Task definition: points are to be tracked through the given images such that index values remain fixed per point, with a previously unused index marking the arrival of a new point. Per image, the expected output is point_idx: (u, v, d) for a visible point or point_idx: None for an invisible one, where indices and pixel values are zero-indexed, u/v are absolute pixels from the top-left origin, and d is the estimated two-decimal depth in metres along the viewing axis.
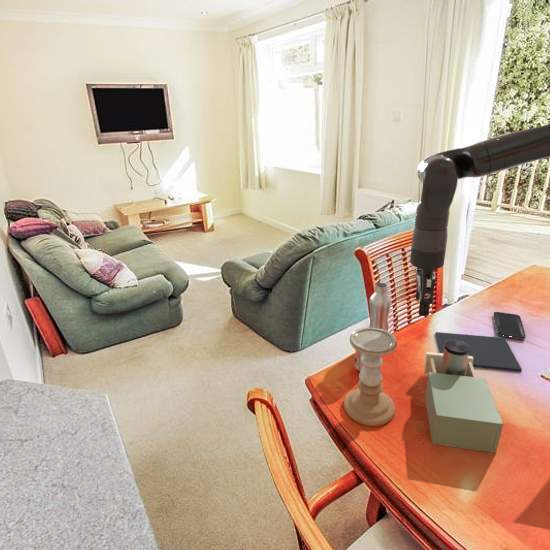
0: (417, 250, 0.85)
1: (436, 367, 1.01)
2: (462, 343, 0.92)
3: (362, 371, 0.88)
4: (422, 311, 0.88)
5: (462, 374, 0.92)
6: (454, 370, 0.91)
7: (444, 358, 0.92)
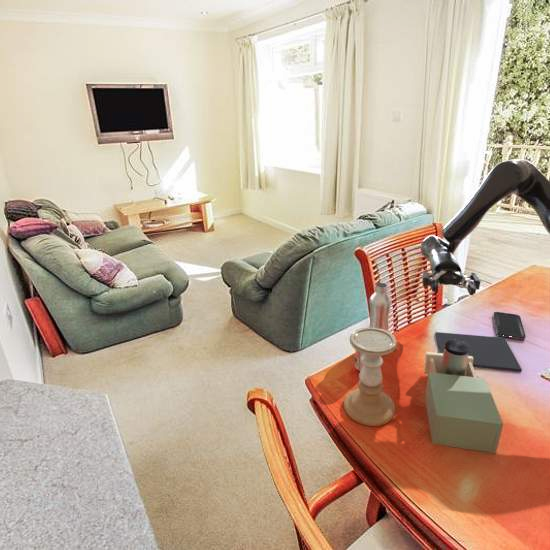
0: None
1: (436, 367, 1.01)
2: (462, 343, 0.92)
3: (362, 371, 0.88)
4: (431, 288, 1.00)
5: (462, 374, 0.92)
6: (454, 370, 0.91)
7: (444, 358, 0.92)
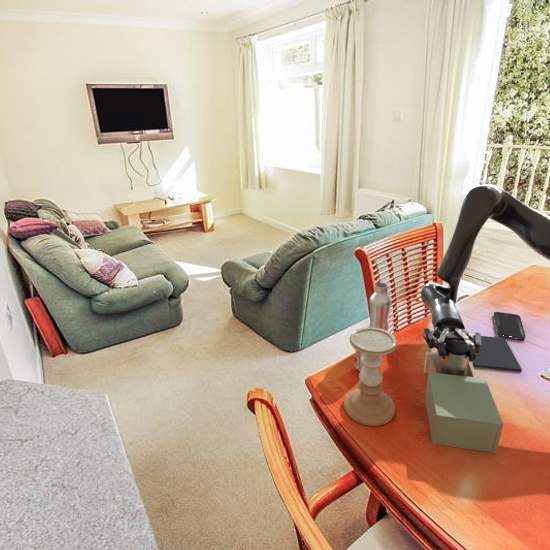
0: None
1: (436, 367, 1.01)
2: (462, 343, 0.92)
3: (362, 371, 0.88)
4: (438, 353, 0.92)
5: (462, 374, 0.92)
6: (454, 370, 0.91)
7: None
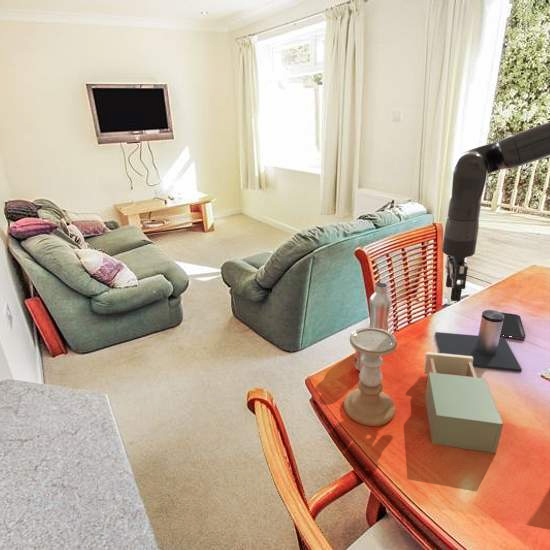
0: (450, 239, 0.92)
1: (436, 367, 1.01)
2: (497, 312, 1.07)
3: (362, 371, 0.88)
4: (454, 296, 0.95)
5: (497, 339, 1.06)
6: (490, 335, 1.06)
7: (481, 325, 1.07)
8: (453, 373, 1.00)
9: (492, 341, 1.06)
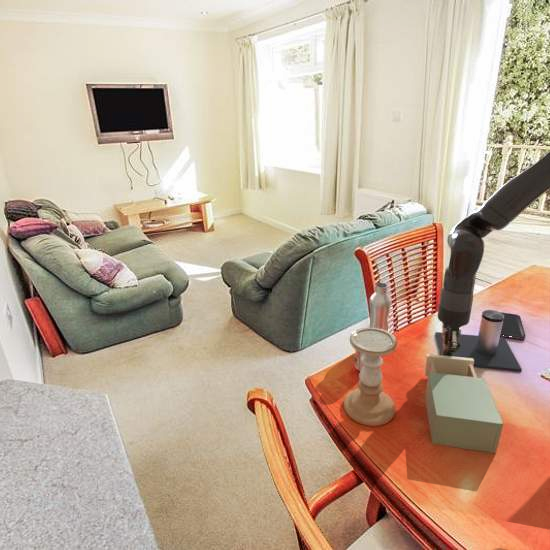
0: (445, 309, 0.94)
1: (436, 369, 1.00)
2: (497, 312, 1.07)
3: (362, 371, 0.88)
4: None
5: (497, 339, 1.06)
6: (490, 335, 1.06)
7: (481, 325, 1.07)
8: None
9: (492, 341, 1.06)
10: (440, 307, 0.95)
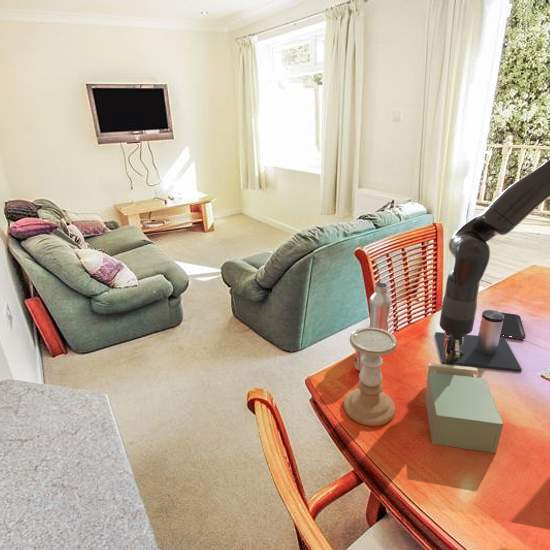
0: (447, 317, 0.90)
1: None
2: (497, 312, 1.07)
3: (362, 371, 0.88)
4: None
5: (497, 339, 1.06)
6: (490, 335, 1.06)
7: (481, 325, 1.07)
8: None
9: (492, 341, 1.06)
10: (442, 315, 0.92)
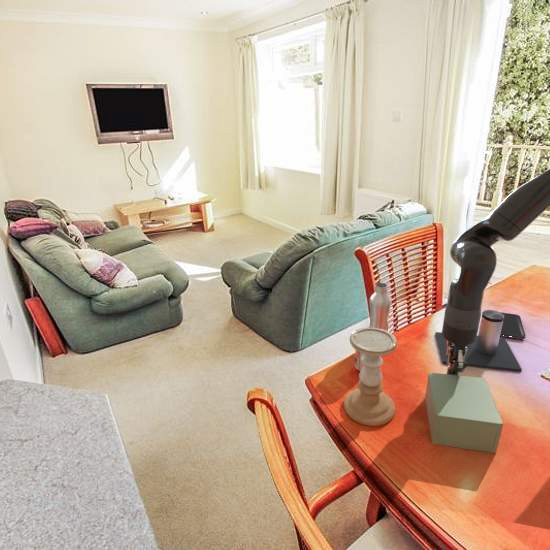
0: (450, 326, 0.86)
1: None
2: (497, 312, 1.07)
3: (362, 371, 0.88)
4: None
5: (497, 339, 1.06)
6: (490, 335, 1.06)
7: (481, 325, 1.07)
8: None
9: (492, 341, 1.06)
10: (445, 324, 0.88)
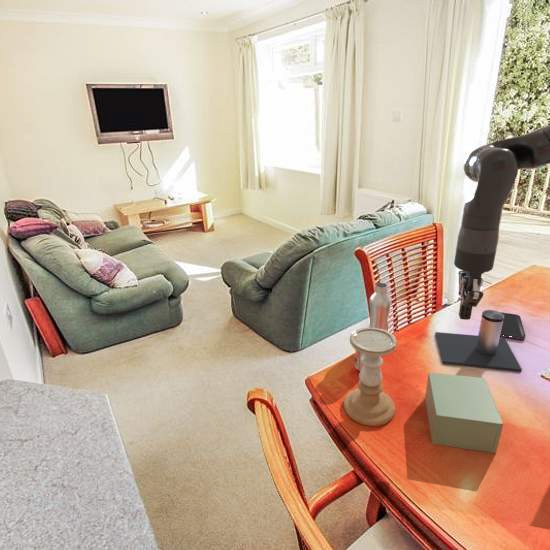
0: (464, 251, 0.77)
1: None
2: (497, 312, 1.07)
3: (362, 371, 0.88)
4: (464, 314, 0.84)
5: (497, 339, 1.06)
6: (490, 335, 1.06)
7: (481, 325, 1.07)
8: None
9: (492, 341, 1.06)
10: (458, 251, 0.79)
